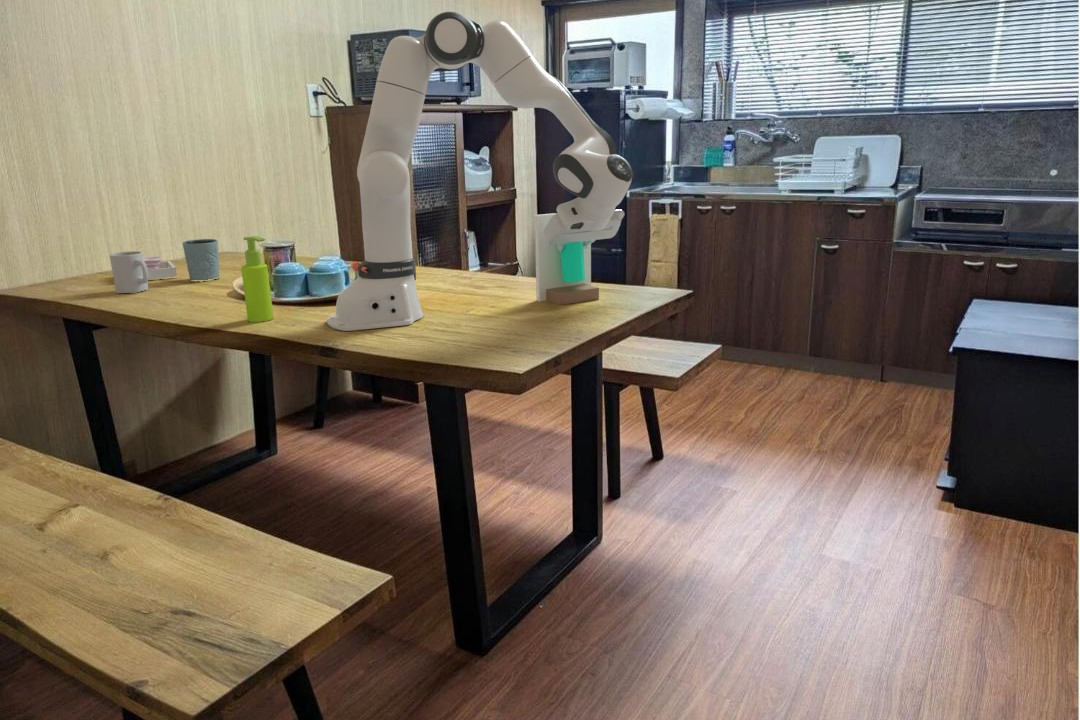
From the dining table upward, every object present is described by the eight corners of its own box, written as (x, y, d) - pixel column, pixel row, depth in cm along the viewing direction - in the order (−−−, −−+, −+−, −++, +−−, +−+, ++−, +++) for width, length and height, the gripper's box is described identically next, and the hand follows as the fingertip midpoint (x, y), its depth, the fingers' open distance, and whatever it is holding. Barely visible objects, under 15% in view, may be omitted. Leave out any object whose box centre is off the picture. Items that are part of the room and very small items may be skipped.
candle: (582, 281, 198) (579, 233, 195) (559, 282, 199) (556, 235, 197) (587, 278, 203) (584, 232, 201) (565, 279, 205) (562, 233, 202)
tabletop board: (553, 306, 197) (551, 217, 191) (536, 300, 204) (534, 215, 197) (605, 298, 205) (605, 213, 198) (587, 293, 211) (587, 210, 205)
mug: (109, 292, 226) (102, 255, 223) (136, 287, 233) (129, 250, 230) (136, 296, 220) (130, 257, 217) (163, 290, 228) (157, 252, 224)
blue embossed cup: (204, 276, 249) (199, 238, 246) (230, 277, 246) (225, 239, 242) (180, 282, 240) (174, 242, 237) (207, 283, 237) (201, 243, 233)
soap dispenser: (261, 323, 185) (251, 239, 179) (242, 320, 188) (231, 237, 183) (281, 318, 190) (271, 236, 184) (262, 315, 193) (252, 234, 187)
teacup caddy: (121, 284, 239) (119, 272, 238) (118, 276, 252) (116, 265, 251) (177, 278, 246) (175, 267, 245) (171, 271, 259) (169, 260, 258)
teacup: (152, 273, 257) (149, 254, 255) (180, 275, 252) (177, 256, 251) (121, 280, 246) (118, 260, 244) (150, 282, 242) (146, 262, 240)
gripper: (621, 199, 196) (599, 235, 206) (552, 205, 186) (532, 242, 197) (632, 219, 193) (609, 253, 204) (562, 226, 183) (542, 262, 194)
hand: (571, 248), depth 200 cm, fingers closed on candle, 5 cm apart
